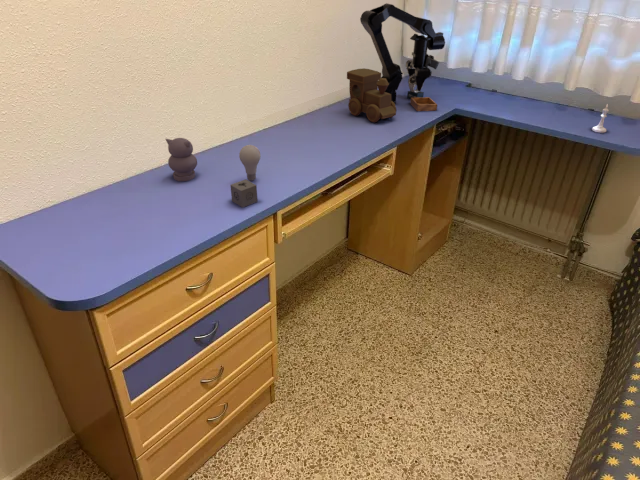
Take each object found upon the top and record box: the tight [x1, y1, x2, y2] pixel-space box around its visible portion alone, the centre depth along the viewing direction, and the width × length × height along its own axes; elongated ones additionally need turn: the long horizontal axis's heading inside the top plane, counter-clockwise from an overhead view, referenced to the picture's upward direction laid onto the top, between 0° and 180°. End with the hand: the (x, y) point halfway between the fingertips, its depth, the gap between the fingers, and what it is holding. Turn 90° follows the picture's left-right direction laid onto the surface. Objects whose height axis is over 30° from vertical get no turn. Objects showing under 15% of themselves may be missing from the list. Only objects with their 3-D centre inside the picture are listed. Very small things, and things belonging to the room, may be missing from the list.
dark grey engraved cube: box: [229, 179, 258, 208], centre depth 131 cm, size 5×5×5 cm
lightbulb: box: [238, 144, 261, 182], centre depth 141 cm, size 6×6×11 cm
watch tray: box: [409, 96, 438, 112], centre depth 206 cm, size 8×11×3 cm
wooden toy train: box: [346, 68, 397, 123], centre depth 191 cm, size 20×11×17 cm, turn 40°
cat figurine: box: [165, 137, 198, 182], centre depth 143 cm, size 8×8×12 cm
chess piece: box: [591, 103, 609, 134], centre depth 181 cm, size 5×5×10 cm
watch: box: [406, 74, 425, 100], centre depth 213 cm, size 6×8×11 cm
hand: (415, 88), depth 214 cm, fingers open, 9 cm apart
